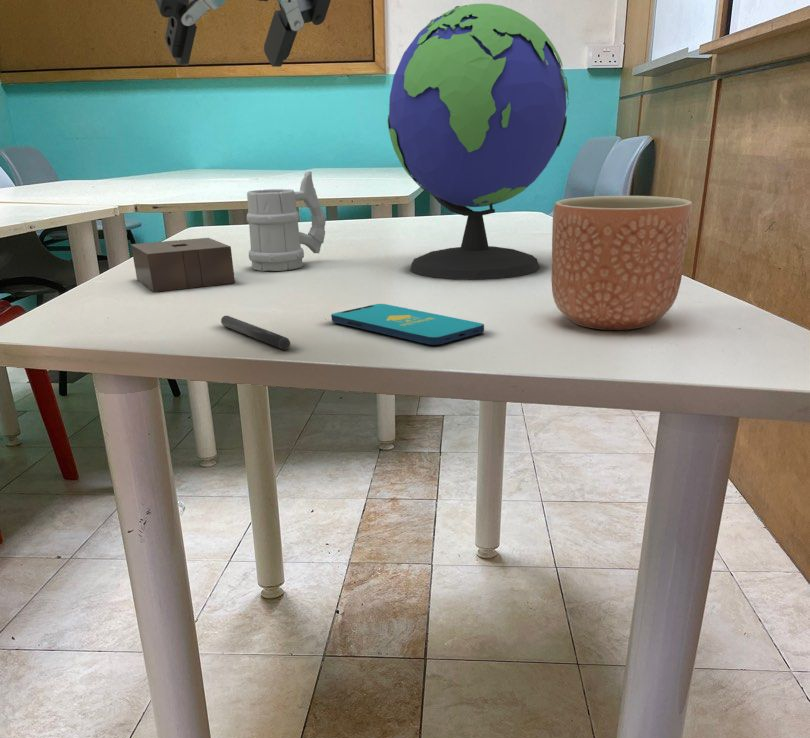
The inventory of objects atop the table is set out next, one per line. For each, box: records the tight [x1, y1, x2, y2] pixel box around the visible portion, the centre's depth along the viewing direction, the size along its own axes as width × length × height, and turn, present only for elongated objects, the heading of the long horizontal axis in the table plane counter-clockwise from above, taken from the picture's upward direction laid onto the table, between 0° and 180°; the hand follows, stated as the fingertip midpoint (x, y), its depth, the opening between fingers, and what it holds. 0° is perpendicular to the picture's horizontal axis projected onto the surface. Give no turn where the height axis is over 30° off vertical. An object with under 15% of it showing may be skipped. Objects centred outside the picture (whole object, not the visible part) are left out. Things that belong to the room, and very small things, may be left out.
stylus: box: [220, 315, 291, 351], centre depth 77 cm, size 1×1×13 cm
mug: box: [246, 170, 327, 272], centre depth 112 cm, size 8×12×12 cm, turn 125°
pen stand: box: [130, 237, 236, 293], centre depth 104 cm, size 10×10×4 cm
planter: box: [551, 195, 693, 331], centre depth 77 cm, size 12×12×11 cm
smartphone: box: [330, 303, 485, 346], centre depth 79 cm, size 7×1×15 cm
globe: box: [387, 3, 570, 280], centre depth 102 cm, size 22×22×30 cm
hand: (226, 58), depth 67 cm, fingers open, 8 cm apart
